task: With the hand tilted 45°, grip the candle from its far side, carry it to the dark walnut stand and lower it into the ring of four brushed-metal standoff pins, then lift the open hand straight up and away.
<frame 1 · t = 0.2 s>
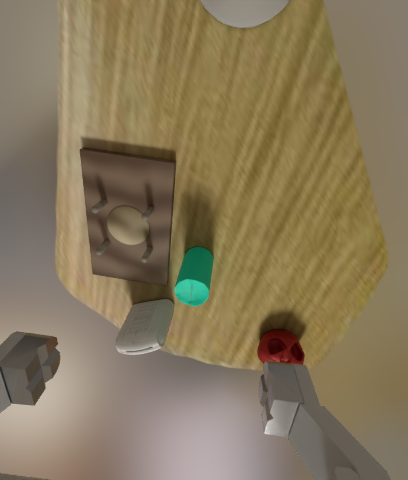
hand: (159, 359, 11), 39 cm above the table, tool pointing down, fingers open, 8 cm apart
photo printer: (153, 306, 63), on the table
candle stand: (130, 222, 53), on the table
pomegranate: (277, 339, 64), on the table
candle: (199, 258, 55), on the table
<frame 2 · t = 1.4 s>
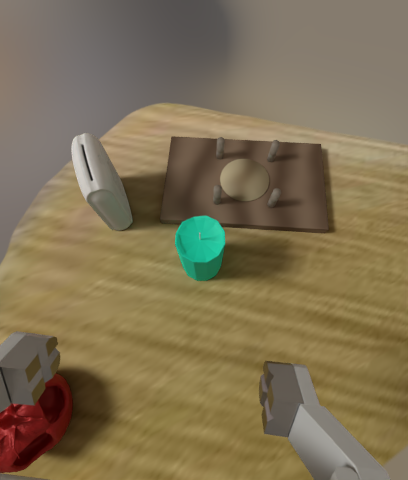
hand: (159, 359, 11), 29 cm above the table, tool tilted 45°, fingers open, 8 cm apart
photo printer: (116, 204, 46), on the table
candle stand: (243, 184, 46), on the table
pomegranate: (44, 408, 35), on the table
candle: (201, 262, 42), on the table
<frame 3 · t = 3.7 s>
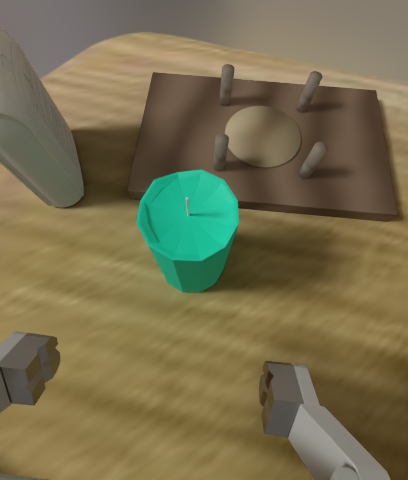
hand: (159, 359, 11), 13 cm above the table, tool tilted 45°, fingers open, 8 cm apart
photo printer: (62, 168, 29), on the table
candle stand: (259, 145, 30), on the table
candle: (192, 261, 26), on the table
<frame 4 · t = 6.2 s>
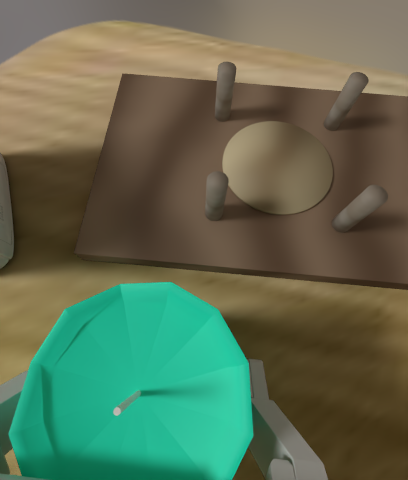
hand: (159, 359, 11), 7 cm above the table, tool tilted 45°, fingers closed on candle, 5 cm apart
candle stand: (271, 177, 21), on the table
candle: (172, 364, 17), on the table, touching gripper
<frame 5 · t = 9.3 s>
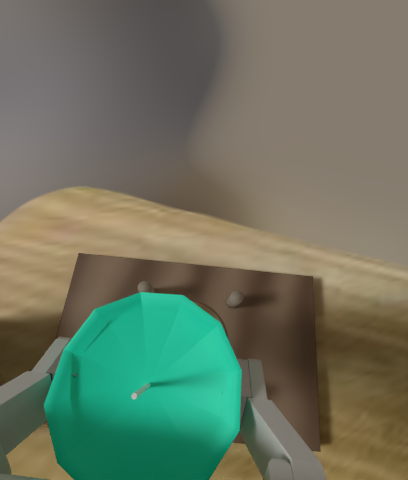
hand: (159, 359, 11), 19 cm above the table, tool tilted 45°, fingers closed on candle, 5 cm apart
candle stand: (187, 341, 29), on the table
candle: (174, 364, 18), point 11 cm above the table, touching gripper
when the fingers open (10 cm above the table, at t = 11.6 s): candle stays where it is, resting on candle stand.
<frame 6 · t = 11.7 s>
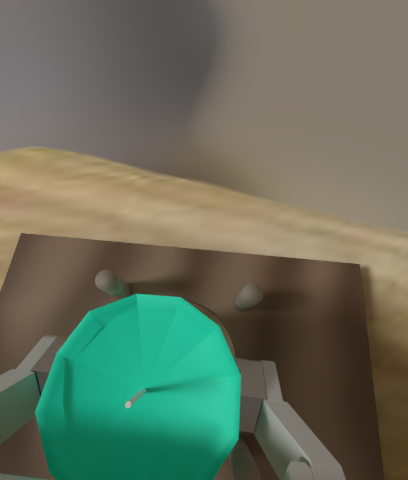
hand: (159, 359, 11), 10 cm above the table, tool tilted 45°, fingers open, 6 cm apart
candle stand: (176, 361, 19), on the table
candle: (173, 364, 18), point 2 cm above the table, touching candle stand
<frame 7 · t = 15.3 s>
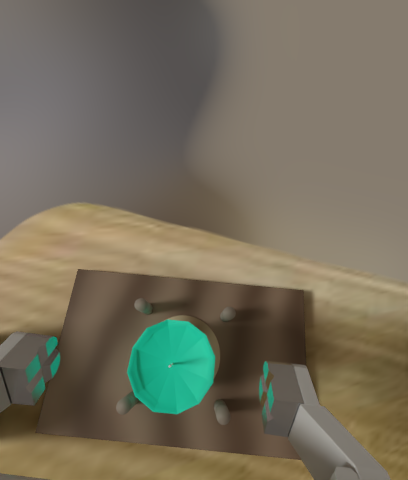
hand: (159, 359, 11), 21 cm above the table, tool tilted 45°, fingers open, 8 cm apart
candle stand: (182, 354, 30), on the table
candle: (180, 356, 28), point 2 cm above the table, touching candle stand
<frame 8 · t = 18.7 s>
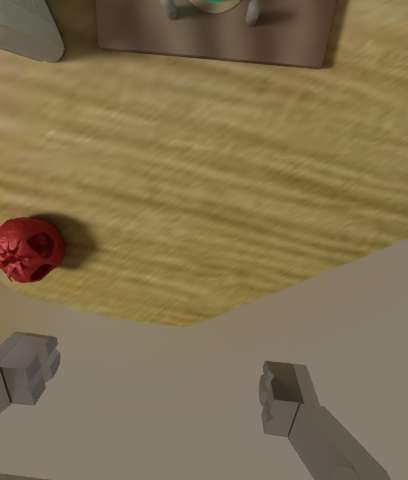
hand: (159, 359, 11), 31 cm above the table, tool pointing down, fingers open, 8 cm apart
photo printer: (35, 13, 32), on the table
pomegranate: (42, 239, 45), on the table
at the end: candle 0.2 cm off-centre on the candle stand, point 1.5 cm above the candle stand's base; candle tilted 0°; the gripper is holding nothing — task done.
